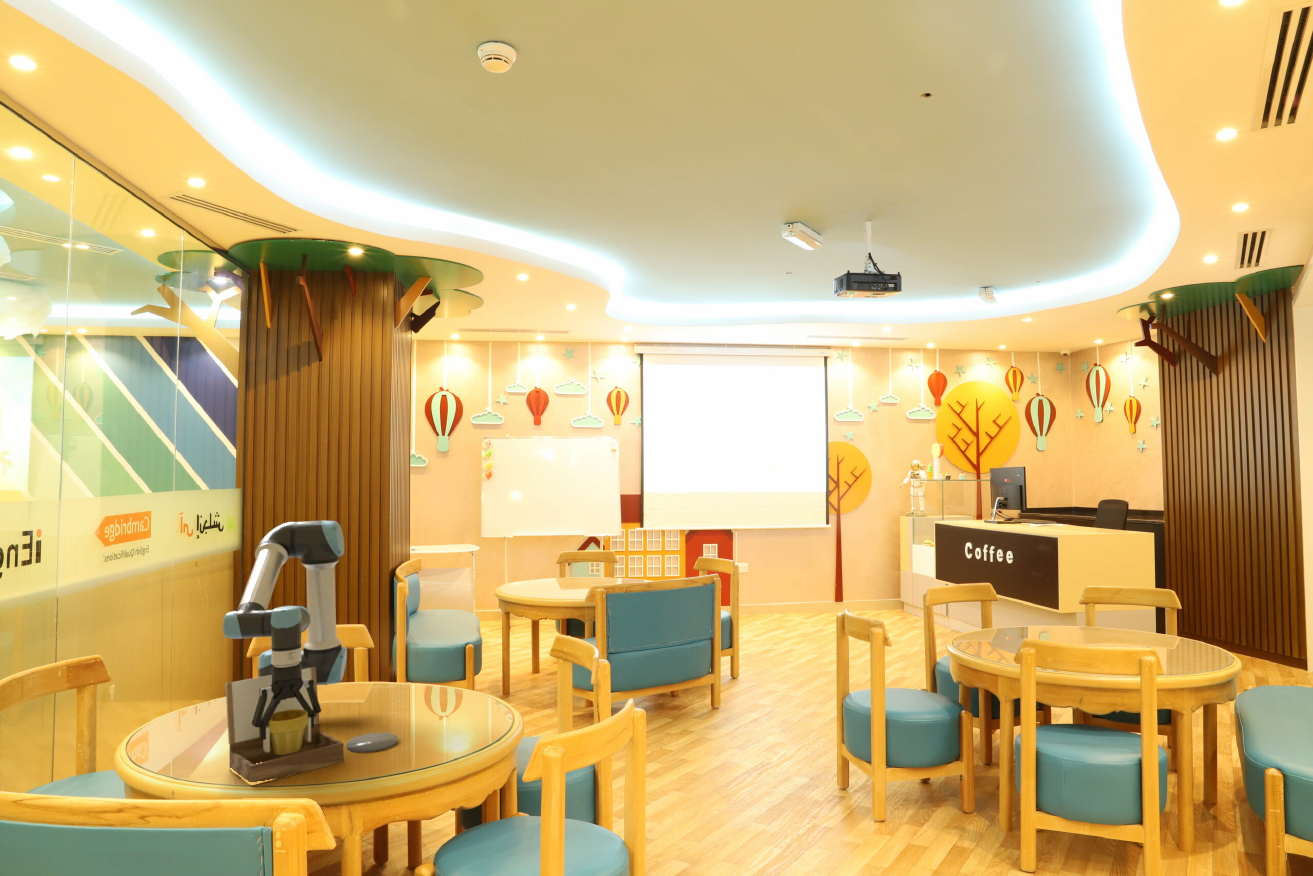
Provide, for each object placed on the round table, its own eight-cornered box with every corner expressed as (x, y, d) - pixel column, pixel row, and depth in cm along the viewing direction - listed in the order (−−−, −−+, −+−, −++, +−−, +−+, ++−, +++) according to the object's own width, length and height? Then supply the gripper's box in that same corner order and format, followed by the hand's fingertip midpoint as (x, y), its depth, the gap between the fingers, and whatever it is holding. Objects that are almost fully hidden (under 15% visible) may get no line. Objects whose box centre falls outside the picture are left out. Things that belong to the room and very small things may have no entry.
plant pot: (292, 758, 216) (291, 721, 216) (257, 756, 218) (257, 720, 218) (315, 745, 226) (315, 709, 226) (282, 743, 228) (282, 708, 228)
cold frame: (229, 770, 219) (229, 744, 219) (318, 748, 236) (318, 723, 236) (250, 786, 207) (250, 758, 207) (343, 761, 224) (343, 735, 224)
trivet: (338, 745, 238) (338, 741, 238) (384, 733, 248) (384, 729, 248) (359, 756, 228) (359, 751, 228) (406, 743, 238) (406, 739, 238)
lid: (225, 741, 222) (225, 682, 223) (314, 721, 239) (313, 666, 239) (230, 744, 219) (230, 684, 220) (319, 724, 236) (319, 668, 237)
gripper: (246, 674, 212) (247, 760, 212) (333, 658, 228) (334, 738, 227) (237, 670, 217) (238, 753, 217) (322, 654, 233) (323, 732, 233)
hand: (287, 745), depth 222 cm, fingers closed on plant pot, 10 cm apart
